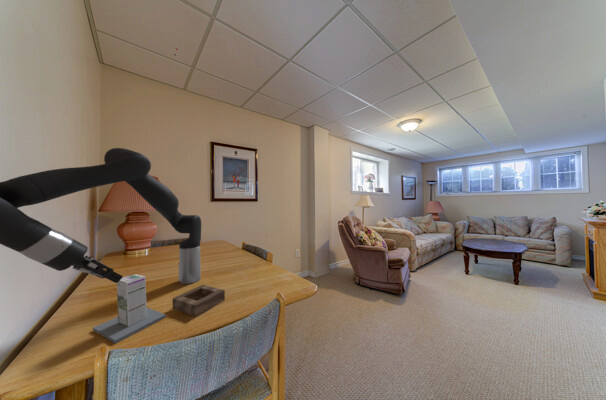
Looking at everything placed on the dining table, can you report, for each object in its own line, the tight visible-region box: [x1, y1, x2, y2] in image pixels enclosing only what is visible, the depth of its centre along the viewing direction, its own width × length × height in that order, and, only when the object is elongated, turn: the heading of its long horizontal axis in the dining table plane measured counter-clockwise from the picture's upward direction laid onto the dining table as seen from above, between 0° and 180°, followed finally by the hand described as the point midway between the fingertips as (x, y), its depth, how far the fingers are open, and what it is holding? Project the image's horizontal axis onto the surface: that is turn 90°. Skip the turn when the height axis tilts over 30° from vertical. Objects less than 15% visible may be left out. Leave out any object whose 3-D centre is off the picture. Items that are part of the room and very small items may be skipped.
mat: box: [92, 306, 167, 345], centre depth 67 cm, size 14×14×1 cm
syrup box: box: [116, 273, 147, 327], centre depth 67 cm, size 6×6×14 cm
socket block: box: [172, 284, 226, 318], centre depth 79 cm, size 13×13×4 cm
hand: (112, 277), depth 63 cm, fingers open, 8 cm apart
